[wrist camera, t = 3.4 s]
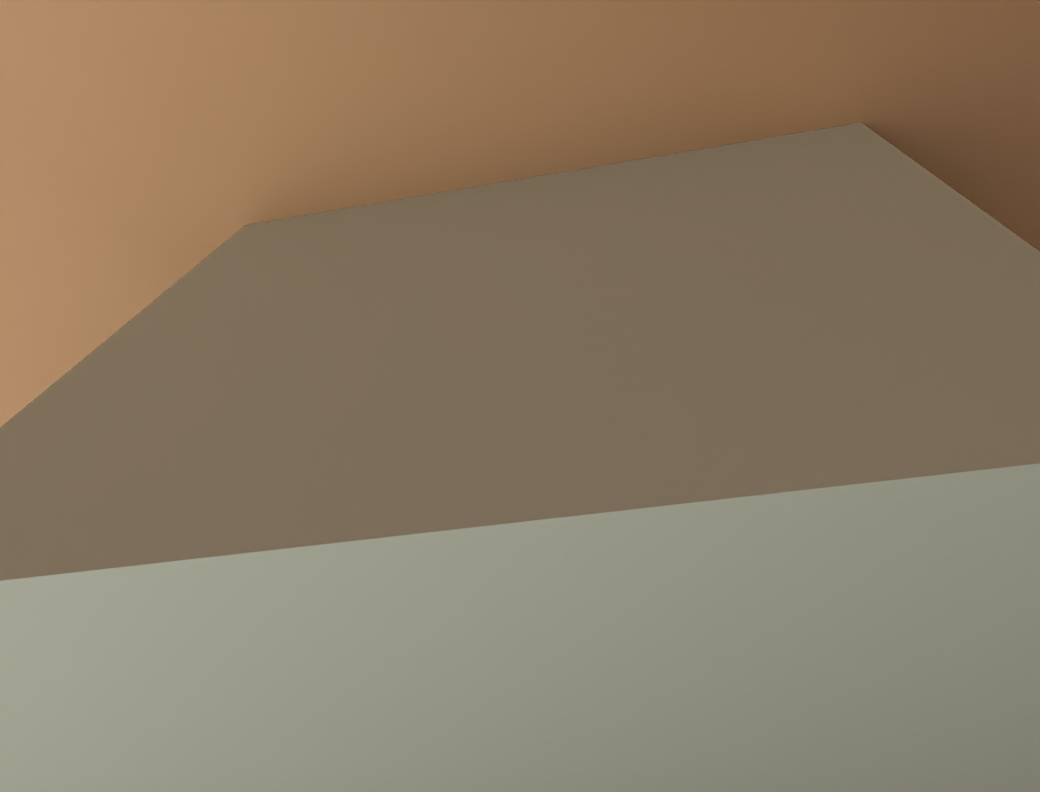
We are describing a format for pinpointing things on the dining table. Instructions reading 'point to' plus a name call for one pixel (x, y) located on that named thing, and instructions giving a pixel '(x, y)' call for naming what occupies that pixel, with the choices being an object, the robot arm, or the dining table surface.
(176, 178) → the dining table surface
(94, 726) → the grey green block
